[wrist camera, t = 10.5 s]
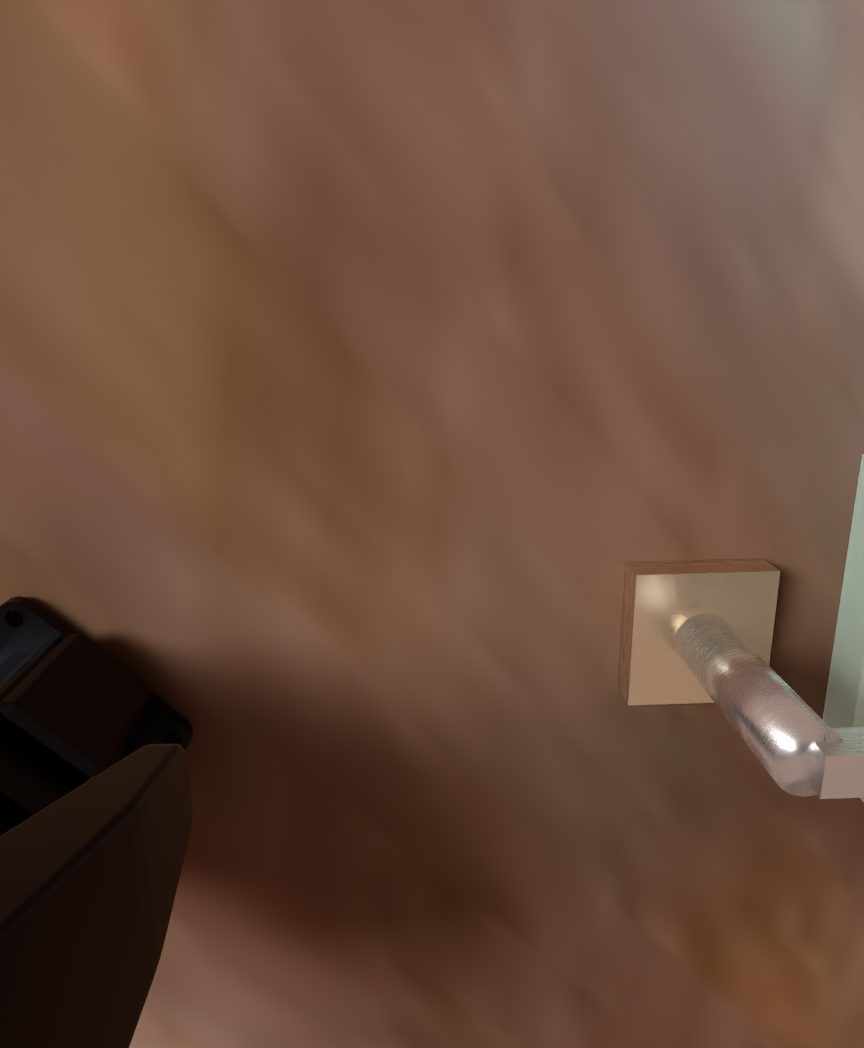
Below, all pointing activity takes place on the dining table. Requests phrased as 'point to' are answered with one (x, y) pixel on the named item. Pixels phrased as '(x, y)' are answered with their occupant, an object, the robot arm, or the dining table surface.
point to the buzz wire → (730, 668)
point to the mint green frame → (849, 632)
